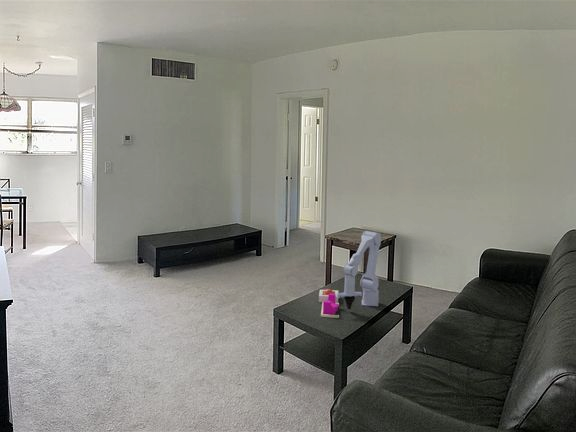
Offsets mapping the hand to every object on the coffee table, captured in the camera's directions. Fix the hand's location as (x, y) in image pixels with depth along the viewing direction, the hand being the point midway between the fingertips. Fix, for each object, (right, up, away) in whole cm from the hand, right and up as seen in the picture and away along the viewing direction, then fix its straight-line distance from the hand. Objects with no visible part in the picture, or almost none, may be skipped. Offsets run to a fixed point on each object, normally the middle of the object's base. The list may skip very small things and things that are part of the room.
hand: (348, 308), depth 268 cm
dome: (-10, +3, +20) cm, 22 cm away
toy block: (-10, -2, +2) cm, 10 cm away
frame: (-10, -2, +1) cm, 10 cm away
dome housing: (-10, +2, +20) cm, 22 cm away
